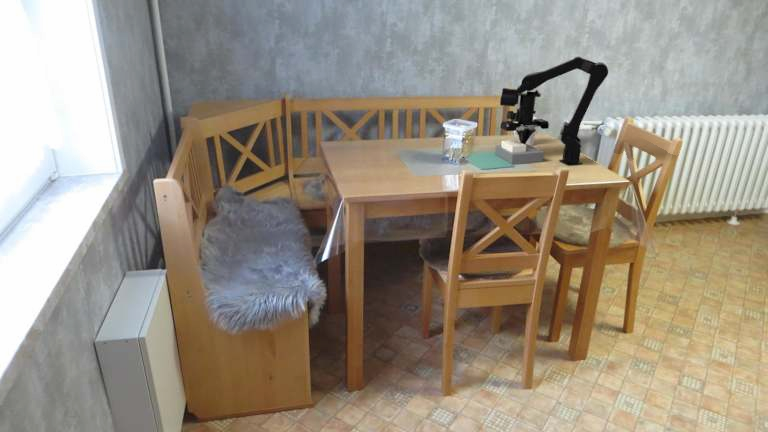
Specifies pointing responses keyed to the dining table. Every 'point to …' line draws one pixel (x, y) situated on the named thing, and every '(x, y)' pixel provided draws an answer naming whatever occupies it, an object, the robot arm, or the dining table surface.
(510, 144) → the tile
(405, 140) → the dining table surface
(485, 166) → the mat
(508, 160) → the grey square slab
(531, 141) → the mug
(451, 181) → the dining table surface
